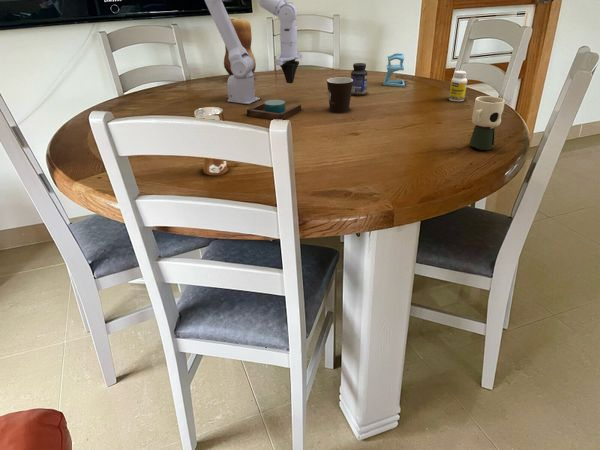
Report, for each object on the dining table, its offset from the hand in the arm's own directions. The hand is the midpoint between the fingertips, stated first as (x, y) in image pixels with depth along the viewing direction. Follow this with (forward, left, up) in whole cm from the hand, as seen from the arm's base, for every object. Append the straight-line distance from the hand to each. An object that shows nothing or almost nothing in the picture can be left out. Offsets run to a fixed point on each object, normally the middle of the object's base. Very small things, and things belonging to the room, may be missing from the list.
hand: (289, 82), depth 164 cm
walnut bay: (+2, -14, -7) cm, 15 cm away
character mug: (+70, -18, -7) cm, 73 cm away
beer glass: (+15, -63, -7) cm, 65 cm away
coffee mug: (+20, -1, -7) cm, 21 cm away
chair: (+25, +40, -7) cm, 48 cm away
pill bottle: (+18, +20, -7) cm, 28 cm away
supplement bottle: (+53, +27, -7) cm, 60 cm away
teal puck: (+2, -14, -7) cm, 16 cm away
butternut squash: (-38, +22, -7) cm, 45 cm away
